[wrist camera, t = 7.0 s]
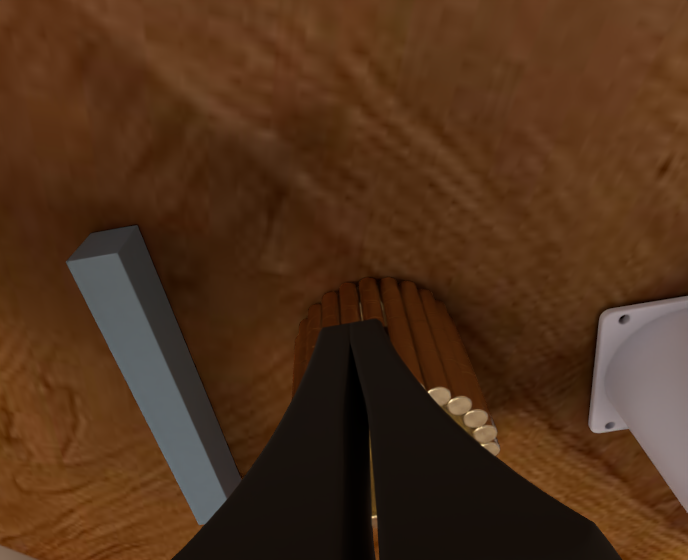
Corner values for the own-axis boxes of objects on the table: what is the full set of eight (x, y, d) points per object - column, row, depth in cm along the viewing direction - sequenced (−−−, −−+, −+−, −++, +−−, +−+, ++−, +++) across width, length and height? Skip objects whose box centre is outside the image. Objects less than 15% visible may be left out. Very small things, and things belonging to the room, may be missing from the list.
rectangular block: (137, 224, 21) (117, 252, 19) (241, 479, 29) (235, 519, 27) (90, 232, 21) (64, 261, 19) (207, 485, 29) (198, 525, 27)
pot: (313, 222, 25) (533, 239, 21) (342, 389, 30) (521, 430, 26) (178, 345, 18) (476, 412, 13) (250, 536, 23) (477, 626, 19)
